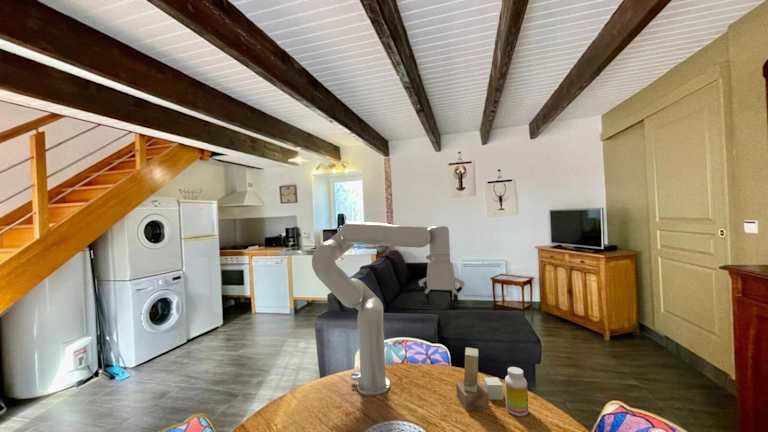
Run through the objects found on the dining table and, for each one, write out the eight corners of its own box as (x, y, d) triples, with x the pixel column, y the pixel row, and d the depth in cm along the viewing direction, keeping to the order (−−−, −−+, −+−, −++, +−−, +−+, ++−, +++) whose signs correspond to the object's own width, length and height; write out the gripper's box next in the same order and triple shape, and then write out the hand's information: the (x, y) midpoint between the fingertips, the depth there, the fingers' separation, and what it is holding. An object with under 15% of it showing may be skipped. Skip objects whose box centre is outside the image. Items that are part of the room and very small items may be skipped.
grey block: (488, 399, 105) (487, 385, 105) (484, 391, 110) (483, 377, 110) (503, 399, 105) (502, 384, 105) (498, 391, 110) (497, 377, 110)
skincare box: (464, 381, 108) (465, 346, 108) (477, 383, 107) (478, 348, 107) (463, 390, 102) (464, 354, 102) (477, 393, 101) (478, 356, 101)
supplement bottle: (531, 417, 95) (529, 376, 95) (508, 416, 96) (506, 374, 96) (525, 404, 101) (523, 365, 102) (504, 403, 103) (502, 364, 103)
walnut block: (465, 411, 100) (464, 395, 100) (456, 397, 108) (456, 382, 108) (488, 408, 101) (488, 393, 101) (478, 394, 109) (478, 380, 109)
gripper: (415, 259, 116) (417, 305, 115) (462, 260, 110) (465, 307, 110) (419, 257, 123) (421, 300, 122) (464, 257, 117) (466, 302, 117)
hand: (442, 303), depth 116 cm, fingers open, 9 cm apart
